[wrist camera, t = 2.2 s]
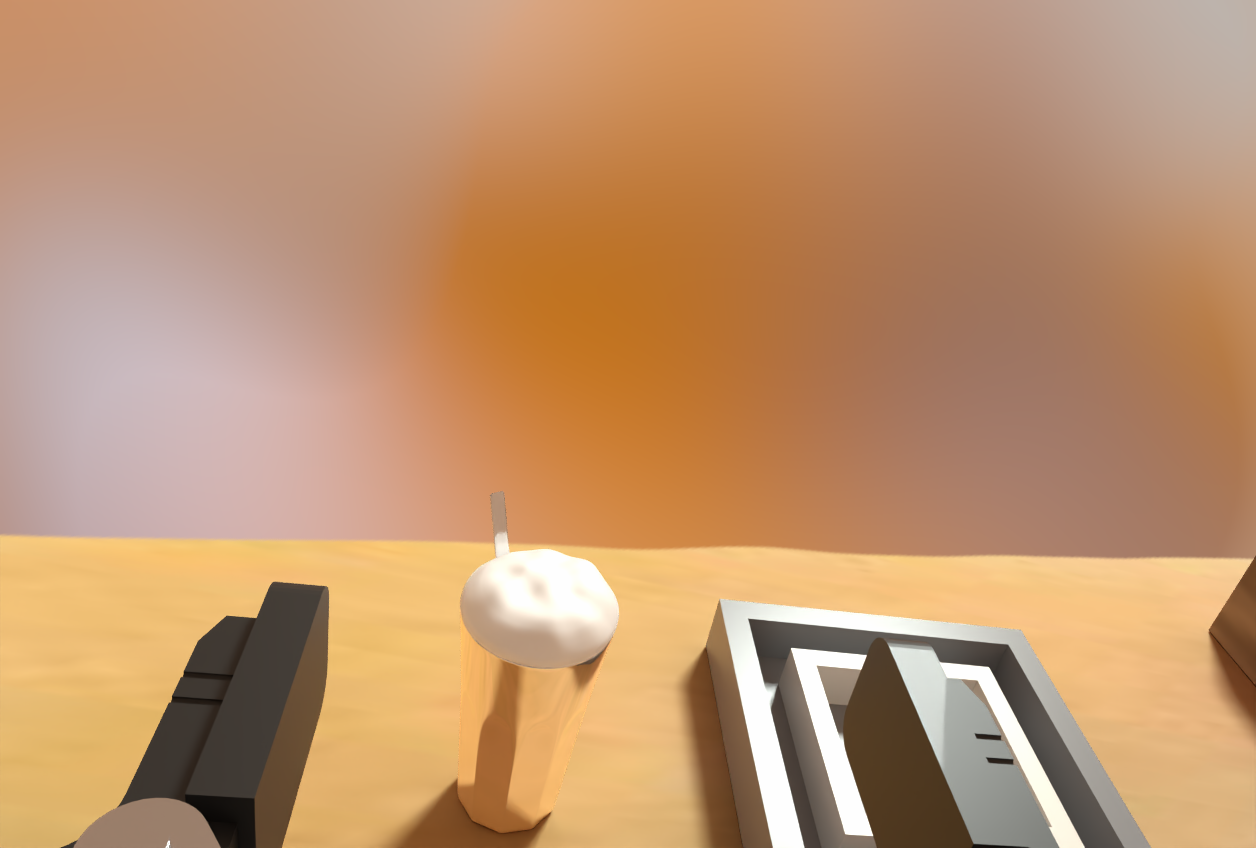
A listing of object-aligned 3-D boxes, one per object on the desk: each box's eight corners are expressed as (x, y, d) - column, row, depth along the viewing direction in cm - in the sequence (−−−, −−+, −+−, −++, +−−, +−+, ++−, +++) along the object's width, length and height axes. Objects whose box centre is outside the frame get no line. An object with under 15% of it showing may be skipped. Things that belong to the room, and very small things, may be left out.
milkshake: (521, 704, 35) (561, 477, 30) (601, 817, 31) (662, 581, 26) (404, 748, 32) (426, 507, 27) (477, 876, 29) (518, 626, 24)
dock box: (763, 955, 28) (785, 904, 27) (705, 645, 39) (719, 598, 38) (1161, 975, 30) (1198, 927, 29) (998, 673, 41) (1020, 630, 40)
